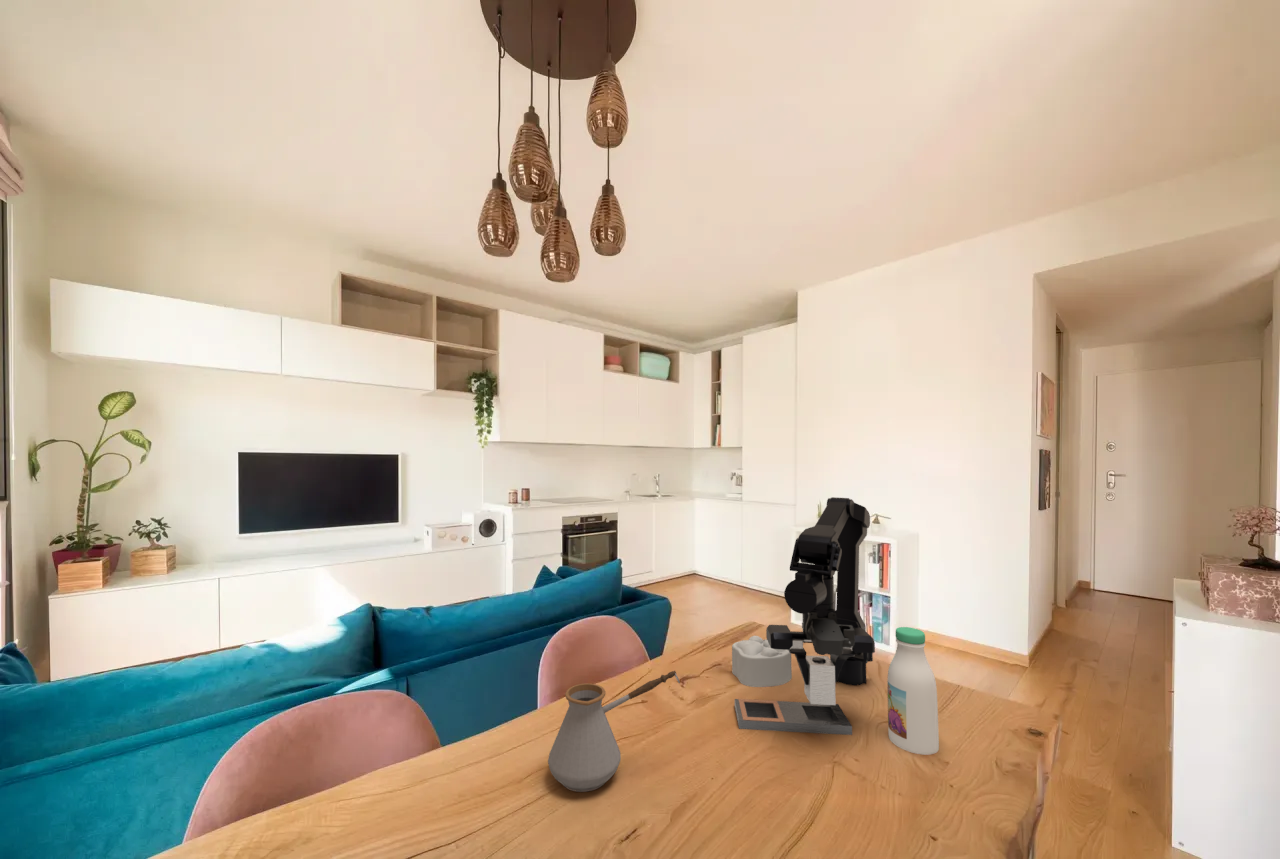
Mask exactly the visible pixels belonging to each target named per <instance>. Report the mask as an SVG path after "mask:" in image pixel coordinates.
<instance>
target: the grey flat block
mask: <svg viewBox="0 0 1280 859" xmlns="http://www.w3.org/2000/svg"><path fill="white" fill-rule="evenodd" d="M734 709H735V710H734V711H735V715H736V720H737V726H738V729H739V730H754V731H755V730H756V731H770V732H771V731H773V732H788V733H789V732H791V733H806V734H807V733H809V734H827V735H843V736H845V735H847V736H853V725H852V723H851V722H850V721H849V719H848V717H847V716H846V714H845V712H844V711H843V710H842V708H841V706H840V705H839V703H836V705H820V704H810V702H805V701H803V702H801V701H785V700H781V701H780V700H773V699H772V700H769V699H749V698H734Z"/></svg>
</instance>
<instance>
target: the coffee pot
mask: <svg viewBox="0 0 1280 859" xmlns="http://www.w3.org/2000/svg"><path fill="white" fill-rule="evenodd" d="M674 677H675V679H676V681H677V683H678V684H681V681H680V679H679V677H678V675H677V671H676V670H672V671H669V672H667V674H661V675H660V677H658V678H656V679H652V680H649V681H647V682H645V683H643V684H642V685H640V686H638V687H637V688H636V689H634V690H632V691H630V692H629V693H628V694H626V695H624V696H621V697H620V698H618V699H615V700H613V701H612V702H610V703H608V704H606V705H603V706H602V702H603V699H604V698H605V697H606V695H607V694H606V690H605V688H604V687H603V686H601V685H599V684H596V683H579V684H575V685H572V686H570V687H569V688H568V689H566V691H565V694H564V697H565V699H566V700H567V702H568V708H567V711H566V713H565V715H564V718H563V720H562V721H561V722H562V723H561V725H560V728H559V730H558V732H557V735H556V737H555V739H554V743H552V747H551V749H550V751H549V755H548V759H547V763H548V768H549V770H550V773H551V775H552V776H553V778H554V779H555V780H556V781H557V782H558V783H560V784H561V785H562V786H563V787H564V788H566V789H567V790H570V791H573V792H578V793H579V792H580V793H584V792H591V791H594V790H597V789H600V788H601V787H602V786H604V785H605V783H607V781H609V780H610V779H611V778H612V777H613V775H614V774H615V773H616V772H617V770H618V767H619V766H620V763H621V759H622V757H621V750H620V748H619V744H618V742H617V740H616V738H615V737H616V736H615V735H614V732H613V730H612V728H611V727H612V726H610V722H609V721H608V717H607V715H606V713H608V712H609V711H612V710H613V709H615V708H616V707H618V706H620V705H622V704H624V703H626V702H627V701H629V700H632V699H634V698H637V697H638V696H641V695H643V694H645V693H648V692H650V691H653V689H655V688H657V686H659V685H661V684H662V683H664V684H665V683H666V682H667V680H669V679H672V678H674Z"/></svg>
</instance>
